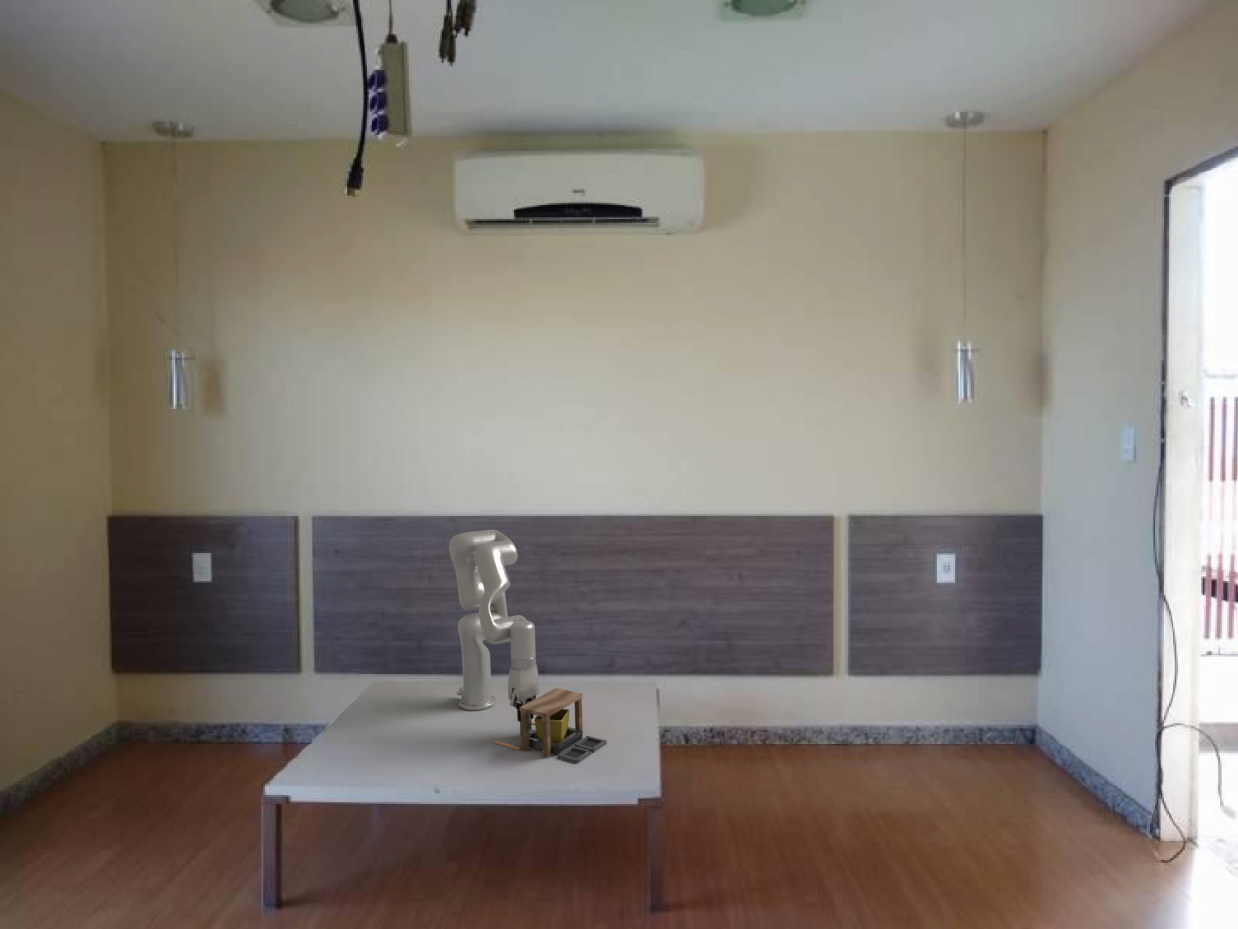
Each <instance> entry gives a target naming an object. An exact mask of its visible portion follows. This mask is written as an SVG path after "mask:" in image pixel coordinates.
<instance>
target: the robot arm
mask: <svg viewBox="0 0 1238 929" xmlns="http://www.w3.org/2000/svg"><path fill="white" fill-rule="evenodd" d="M448 549H449V556H450V559H451V561H452V564H453V567H454V570H455V574H456V575H455V576H456V586H457V593H458V600H459V604H460V606H461V608H462V609H463V610H466V611H472V610H478V612H474V613H469V614H466V615H464V616H463V617H461V618H460V620H459V621H458V624H457V632H458V635H459V640H460V647H461V661H462V662H461V665H462V686H461V687H459V688H458V690H457V691H456V695H458V696H461V699H460V700H459V707H460V708H461V709H462V710H463V709H464V710H466V711H480V710H481V711H482V710H486V709H489V708H491V707H493V706H495V705H496V703H497V697H496V696H494V695H492V677H491V676H492V674H491V673H492V672H491V671H492V670H491V653H490V650H489V648H488V647H487V646H486V645H485V644H484V641H487V642H488V643H489V644H491V645H498V644H503V643H507V642H510V655H511V656H510V661H511V662H510V663H511V667H510V668H509V673H508V682H507V683H508V684H507V687H508V688H507V696H508V700H509V701H510V702H509V706H510V707H514V708H515V710H516V713H517V714H516V716H517V722H519V723H520V722H521V711H520V707H521V706H523V705H525V701H528V702H531V701H533V700H535V699H537V696H538V695H539V694H540V681H539V680H540V679H539V671H538V665H537V659H536V658H537V657H536V656H537V655H536V627H535V624H534V623H533V622H532V621H530V620H527V619H526V617H524V616H523V615H520V614H519V615H518V614H516V615H511V616H509V615H508V606H507V600H506V598H507V597H506V591H508V589H509V588H510V586H511V583H510V582H511V581H510V578H509V575H508V573H507V570H506V566H512V565H514V564H516V562H517V560H518V550H517V547H516V545H515V543H514V542H513V541H512V540H511V539H510V538H509V537H507V536H506V535H505V534H503V533H502V532H501V531H499V530H496V529H485V530H477V531H476V530H475V531H467V532H461V533H459V534H455V535H454V536H452V537H451V539H450V541H449V546H448ZM520 703H521V704H520ZM533 719H534V715H533V714H531V720H533Z"/></svg>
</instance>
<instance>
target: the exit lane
mask: <svg viewBox="0 0 1238 929" xmlns="http://www.w3.org/2000/svg"><path fill="white" fill-rule="evenodd" d="M531 725H535V720H531ZM492 743H493V744H495V745H499V746H503V747H506V748H510V749H514V750H517V751H519V750H522V746H521V747H520V746H516V745H512V744H509V743H506V742H502V741H500V740H493V741H492Z"/></svg>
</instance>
